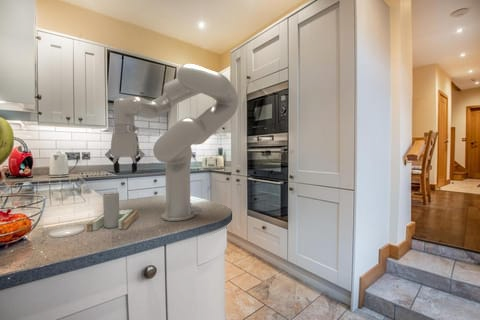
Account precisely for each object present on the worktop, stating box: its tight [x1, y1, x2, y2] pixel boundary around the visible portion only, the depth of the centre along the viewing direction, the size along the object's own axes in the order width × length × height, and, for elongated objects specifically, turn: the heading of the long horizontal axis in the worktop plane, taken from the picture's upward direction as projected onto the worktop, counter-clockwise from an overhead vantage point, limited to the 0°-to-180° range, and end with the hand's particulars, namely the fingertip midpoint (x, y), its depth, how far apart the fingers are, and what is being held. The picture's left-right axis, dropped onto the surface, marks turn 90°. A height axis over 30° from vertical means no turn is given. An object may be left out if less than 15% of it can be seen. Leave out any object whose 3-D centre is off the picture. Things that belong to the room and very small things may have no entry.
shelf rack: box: [86, 210, 139, 233], centre depth 83 cm, size 12×15×2 cm
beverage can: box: [102, 190, 120, 229], centre depth 80 cm, size 5×5×12 cm
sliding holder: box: [92, 209, 135, 232], centre depth 83 cm, size 9×14×3 cm, turn 10°
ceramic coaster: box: [49, 224, 85, 239], centre depth 74 cm, size 9×9×1 cm
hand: (125, 172), depth 95 cm, fingers open, 5 cm apart
